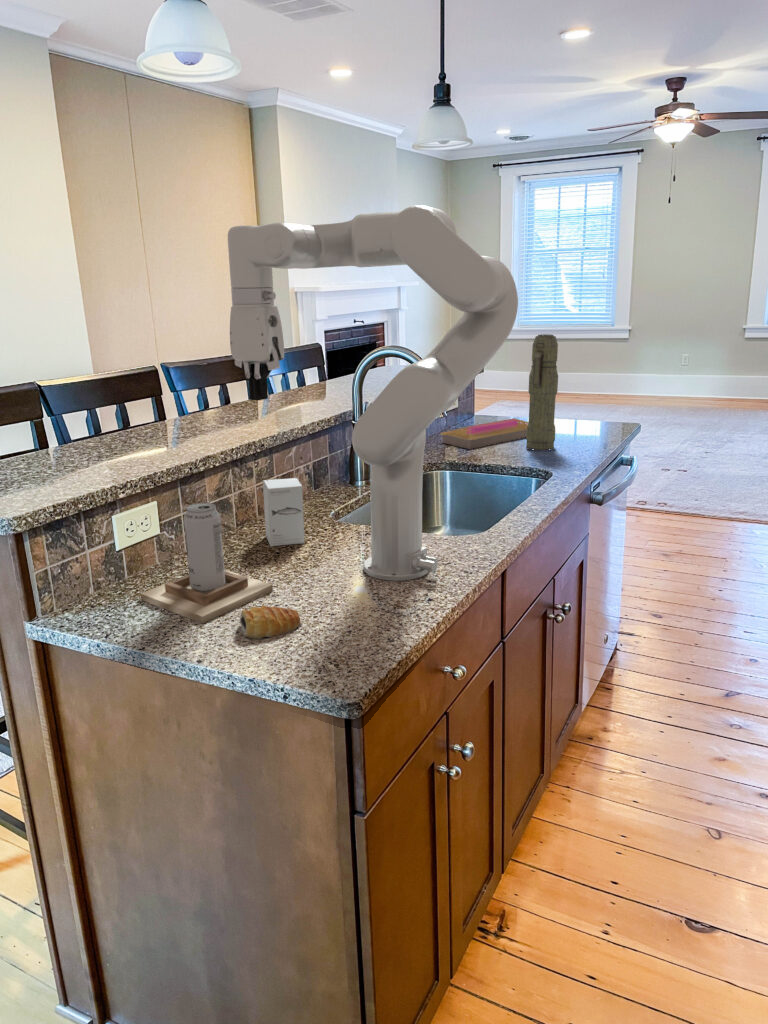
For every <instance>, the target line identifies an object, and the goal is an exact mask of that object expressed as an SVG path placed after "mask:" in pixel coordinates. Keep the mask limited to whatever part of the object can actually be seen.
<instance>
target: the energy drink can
mask: <svg viewBox="0 0 768 1024" xmlns="http://www.w3.org/2000/svg"><path fill="white" fill-rule="evenodd" d="M185 509H186V512H185V514H184V516H183V523H184V524H183V525H184V526H183V527H184V536H185V545H186V546H185V547H186V556H187V565H188V566H187V567H188V568H187V569H188V575H189V579H190V587H191V588H192V589H194V591H197V592H200V593H202V594H205V593H207V592H210V591H212V590H215V589H217V588H219V587H222V586H223V585H224V584H225V571H224V570H225V560H224V548H223V547H224V546H223V539H222V538H223V535H222V534H223V533H222V523H221V514H220V512H219V511H218V510H217V508H216V504H214V503H212V502H198V503H193V504H190V505H188V506H187V507H186V508H185Z"/></svg>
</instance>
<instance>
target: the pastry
mask: <svg viewBox="0 0 768 1024" xmlns="http://www.w3.org/2000/svg"><path fill="white" fill-rule="evenodd" d="M239 617H240V618H239V623H240V625H241V631H242V632H243V635H244V636H245V637H247V638H249V639H253V640H254V639H255V640H256V639H259V640H260V639H262V638H265V637H267V638H271V637H276V636H279V635H282V634H285V633H288V632H291V631H294V630H296V628H298V627H300V625H301V618H300V614H299V612H298V611H297V610H294V609H292V608H284V607H279V606H278V607H277V606H267V605H262V606H260V607H256V606H251V607H250V608H249V609H242V610H241V614H240V615H239Z"/></svg>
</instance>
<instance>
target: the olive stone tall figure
mask: <svg viewBox="0 0 768 1024" xmlns="http://www.w3.org/2000/svg"><path fill="white" fill-rule="evenodd" d="M558 348H559V344H558V340H557V337H556V335H554V334H548V333H547V334H546V333H545V334H538V335H536V336H535V337H534V339H533V342H532V350H531V351H532V353H531V354H532V355H531V361H532V365H531V370H530V372H529V376H528V394H529V404H528V405H529V407H528V408H529V409H528V410H529V411H528V422H529V423H528V426H527V431H526V438H525V441H526V445H525V446H526V447H525V448H526V449H527V448H529V449H534V450H549V449H553V448H554V449H555V441H556V440H555V439H556V426H555V414H556V396H557V394H558V386H559V373H558V369H557V368H558V367H557V362H558V350H559V349H558ZM529 449H528V450H529ZM554 449H553V450H554ZM534 450H533V451H534ZM549 451H550V450H549Z"/></svg>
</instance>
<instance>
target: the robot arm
mask: <svg viewBox="0 0 768 1024" xmlns="http://www.w3.org/2000/svg"><path fill="white" fill-rule="evenodd" d="M227 247H228V249H227V250H228V262H229V263H228V265H229V277H230V278H229V279H230V293H231V304H232V306H231V307H230V316H229V346H230V354H231V358H233V359H234V365H235V366H236V367H239V368H241V369H242V370H243V371H244V374H245V378H246V379H248V389H249V392H248V393H249V400H250V401H255V402H257V401H264V400H268V398H269V393H268V392H269V391H268V378H270V375H271V374H270V373H271V372H272V371H274V370H278V369H280V367H281V365H280V361H282V360H284V359H285V343H284V342H285V341H284V331H283V327H282V321H281V315H280V312H279V309H278V306H277V305H276V306H275V300H276V292H274V280H273V279H274V278H273V269H282V270H285V269H287V270H288V269H289V270H290V269H299V270H300V269H302V270H303V269H304V270H305V269H306V270H308V269H318V268H319V269H320V268H324V269H325V268H335V267H336V268H337V267H357V268H374V267H387V266H388V267H389V266H390V267H391V266H405V265H406V266H407V267H409V268H410V269H411V270H412V271H413V272H414V273H415V274H416V275H417V276H418V277H419V278H420V279H421V280H422V281H424V282H425V284H427V285H428V286H429V287H430V288H431V289H432V290H434V292H435V293H436V294H438V296H440V297H441V298H442V299H443V300H444V301H445V302H446V303H447V304H449V305H450V306H451V307H453V308H454V309H456V310H458V311H460V312H464V313H463V314H462V316H461V317H460V318H459V319H458V320H457V322H455V323H454V325H452V327H451V328H450V329H449V330H448V331H447V332H446V334H445V335H444V336H443V338H442V339H441V340H440V341H439V342H438V343H437V345H436V346H435V347H434V348H433V349H432V350H431V351H430V352H429V353H428V354H427V355H426V356H425V357H424V358H422V359H420V360H418V361H415V362H413V363H411V364H409V365H407V366H406V367H404V368H402V369H401V370H400V371H399V372H398V373H397V374H396V375H395V376H394V377H393V378H392V379H391V380H390V381H389V382H388V384H387V385H386V386H385V387H384V389H383V390H382V391H381V392H380V393H379V395H377V397H375V399H374V401H372V403H371V404H370V405H369V406H368V408H366V410H365V411H364V412H363V413H362V414H361V416H360V417H359V418H358V420H356V422H355V424H354V426H353V430H352V433H351V443H352V448H353V451H354V452H355V455H356V456H357V457H358V459H360V460H361V461H362V462H363V463H365V464H367V465H368V466H370V477H369V478H370V479H369V480H370V484H369V485H370V492H369V493H370V496H369V497H370V537H371V538H370V540H371V541H370V543H371V546H370V547H371V548H370V549H371V556H369V557H368V558H367V559H365V560H364V562H363V571H364V573H366V575H368V576H369V577H372V578H375V579H378V580H381V581H382V580H383V581H391V582H392V581H395V582H396V581H397V582H399V581H401V582H403V581H410V580H415V579H418V578H421V577H423V576H425V575H427V574H428V573H429V572H430V573H435V572H436V571H437V569H438V564H439V558H438V557H434V556H429V555H428V547H427V546H423V482H424V481H423V480H424V479H423V475H424V456H425V447H426V440H427V439H426V438H427V435H426V434H427V428H428V427H430V425H432V423H433V422H434V421H435V420H436V419H437V418H438V417H440V415H441V414H442V413H445V412H446V411H448V409H450V408H451V407H452V406H454V404H455V403H456V402H457V399H458V398H459V397H460V396H461V395H462V393H464V391H465V390H466V389H467V388H468V387H469V385H470V384H471V383H472V382H473V381H474V380H475V378H476V377H477V376H478V375H479V374H480V373H481V372H482V370H483V369H484V368H485V367H486V366H487V364H488V363H489V362H490V361H491V360H492V359H493V357H494V356H495V355H497V353H498V351H499V350H500V349H501V348H502V347H503V346H504V344H505V342H506V341H507V339H508V337H509V336H510V334H511V332H512V331H513V327H514V325H515V323H516V319H517V315H518V314H517V313H518V309H519V308H518V307H519V297H518V291H517V286H516V283H515V282H516V281H515V280H514V277H513V275H512V273H511V271H510V269H509V268H508V267H507V265H506V264H504V263H503V262H502V261H501V260H499V259H497V258H495V257H492V256H486V255H480V254H479V253H478V252H477V251H476V250H474V249H473V248H472V247H471V246H470V245H469V244H468V243H467V242H465V241H464V240H463V239H462V238H461V237H460V236H459V235H458V234H457V229H456V225H455V223H454V221H453V219H452V218H451V216H450V215H449V214H448V213H446V212H445V211H443V210H441V209H439V208H435V207H431V206H428V205H423V204H421V205H420V204H419V205H417V204H416V205H411V206H408V207H406V208H404V209H403V210H397V211H384V212H369V213H366V212H365V213H359V214H357V215H355V216H354V217H353V218H352V219H350V220H348V221H344V222H343V221H342V222H335V223H324V224H323V223H322V224H320V223H319V224H307V225H306V224H299V223H290V222H289V223H288V222H273V223H268V224H263V225H249V224H248V225H234V226H232V227H230V228H229V230H228V231H227Z"/></svg>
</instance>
